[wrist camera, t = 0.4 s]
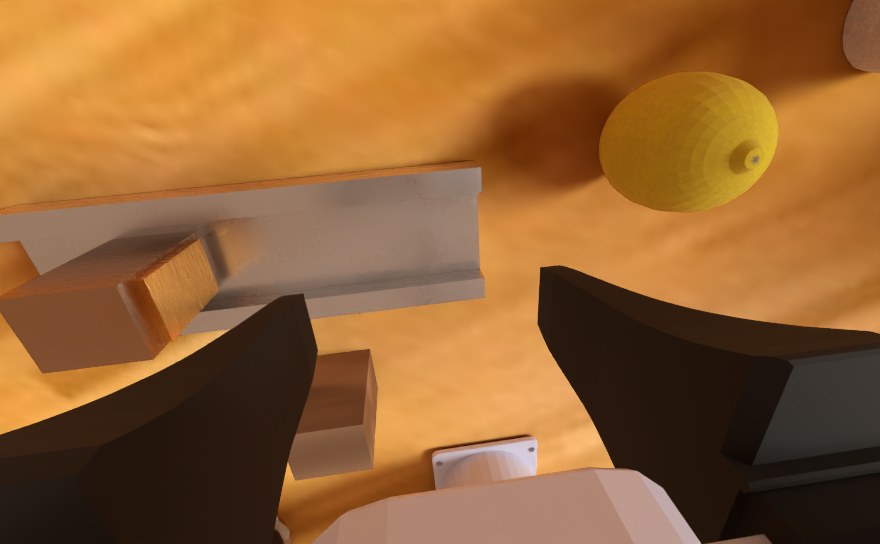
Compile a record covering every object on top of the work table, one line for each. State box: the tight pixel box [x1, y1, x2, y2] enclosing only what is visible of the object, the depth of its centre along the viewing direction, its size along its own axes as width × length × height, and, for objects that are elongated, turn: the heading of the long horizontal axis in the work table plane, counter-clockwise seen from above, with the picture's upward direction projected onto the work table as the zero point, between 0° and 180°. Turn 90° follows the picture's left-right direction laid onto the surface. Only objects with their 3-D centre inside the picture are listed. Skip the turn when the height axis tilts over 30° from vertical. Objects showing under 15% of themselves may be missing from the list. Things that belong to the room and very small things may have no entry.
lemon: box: [599, 71, 778, 213], centre depth 16 cm, size 6×6×8 cm
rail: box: [0, 161, 485, 373], centre depth 17 cm, size 7×22×7 cm, turn 94°
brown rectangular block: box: [288, 349, 378, 480], centre depth 21 cm, size 3×4×6 cm
